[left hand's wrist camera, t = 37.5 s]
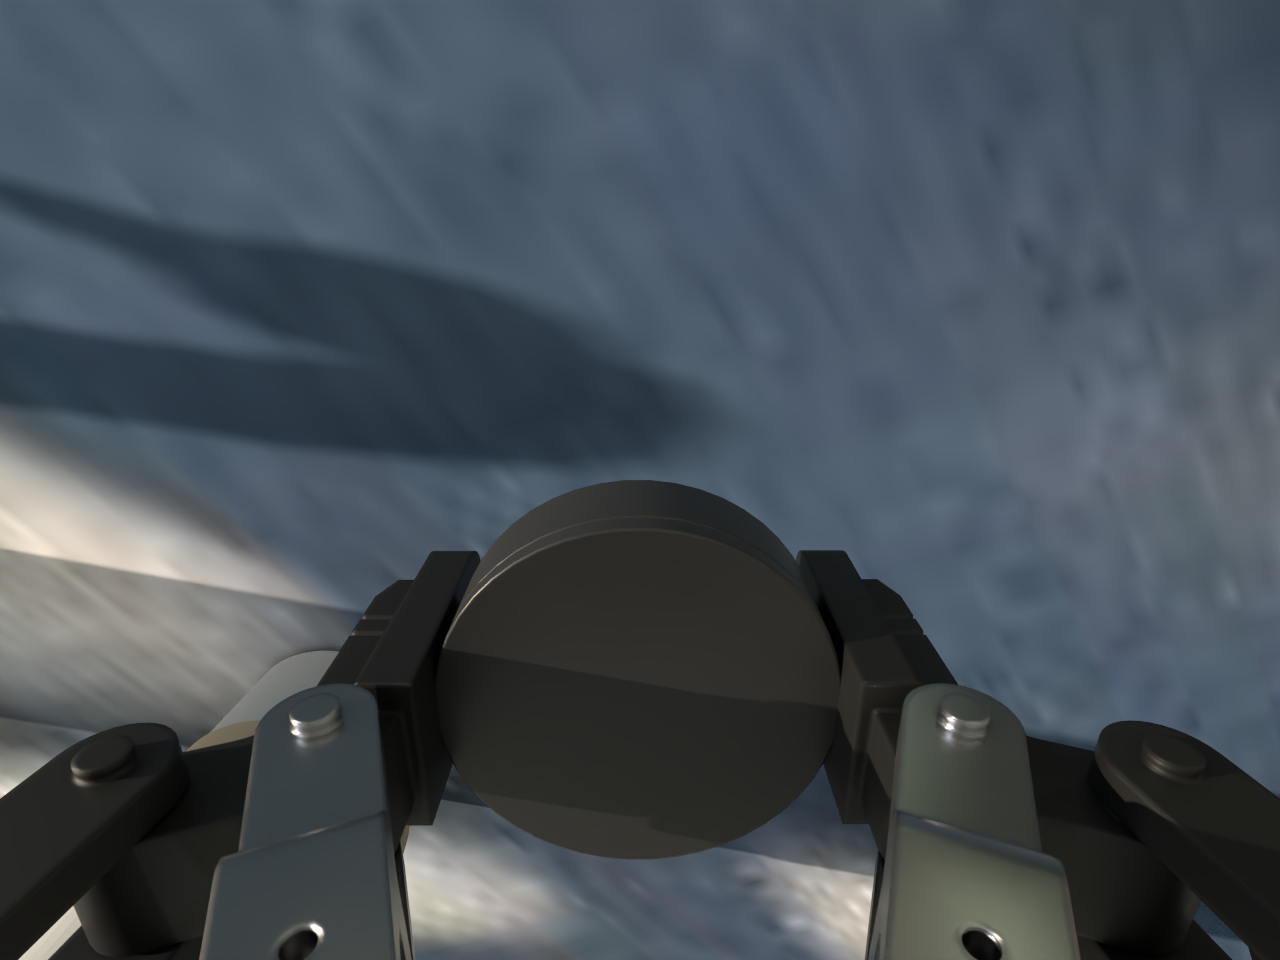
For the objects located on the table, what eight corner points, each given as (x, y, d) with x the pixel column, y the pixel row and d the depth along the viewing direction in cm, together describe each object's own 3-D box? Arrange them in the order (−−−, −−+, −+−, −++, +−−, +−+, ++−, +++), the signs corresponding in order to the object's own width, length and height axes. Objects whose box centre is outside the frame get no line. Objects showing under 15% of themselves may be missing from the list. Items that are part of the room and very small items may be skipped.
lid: (413, 708, 11) (377, 785, 10) (545, 415, 9) (527, 456, 8) (710, 818, 12) (722, 904, 11) (883, 570, 10) (925, 631, 9)
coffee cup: (398, 840, 30) (185, 1408, 16) (190, 750, 28) (-257, 1302, 14) (499, 693, 27) (345, 1231, 13) (274, 583, 25) (-186, 1071, 11)
